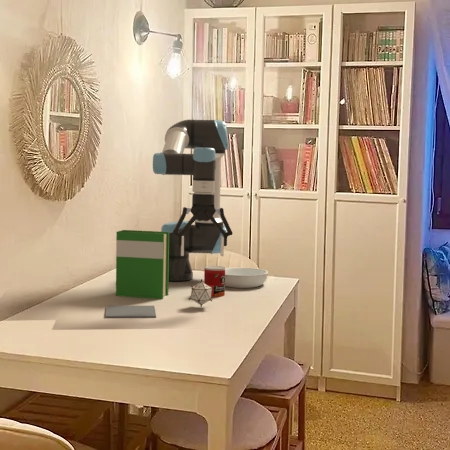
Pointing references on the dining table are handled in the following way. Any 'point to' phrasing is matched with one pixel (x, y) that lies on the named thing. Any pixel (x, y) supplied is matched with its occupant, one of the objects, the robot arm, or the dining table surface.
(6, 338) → the dining table surface
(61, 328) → the dining table surface
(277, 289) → the dining table surface
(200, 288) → the game die
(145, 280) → the hardback book
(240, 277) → the serving bowl
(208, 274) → the canned food
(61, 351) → the dining table surface
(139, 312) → the mat
